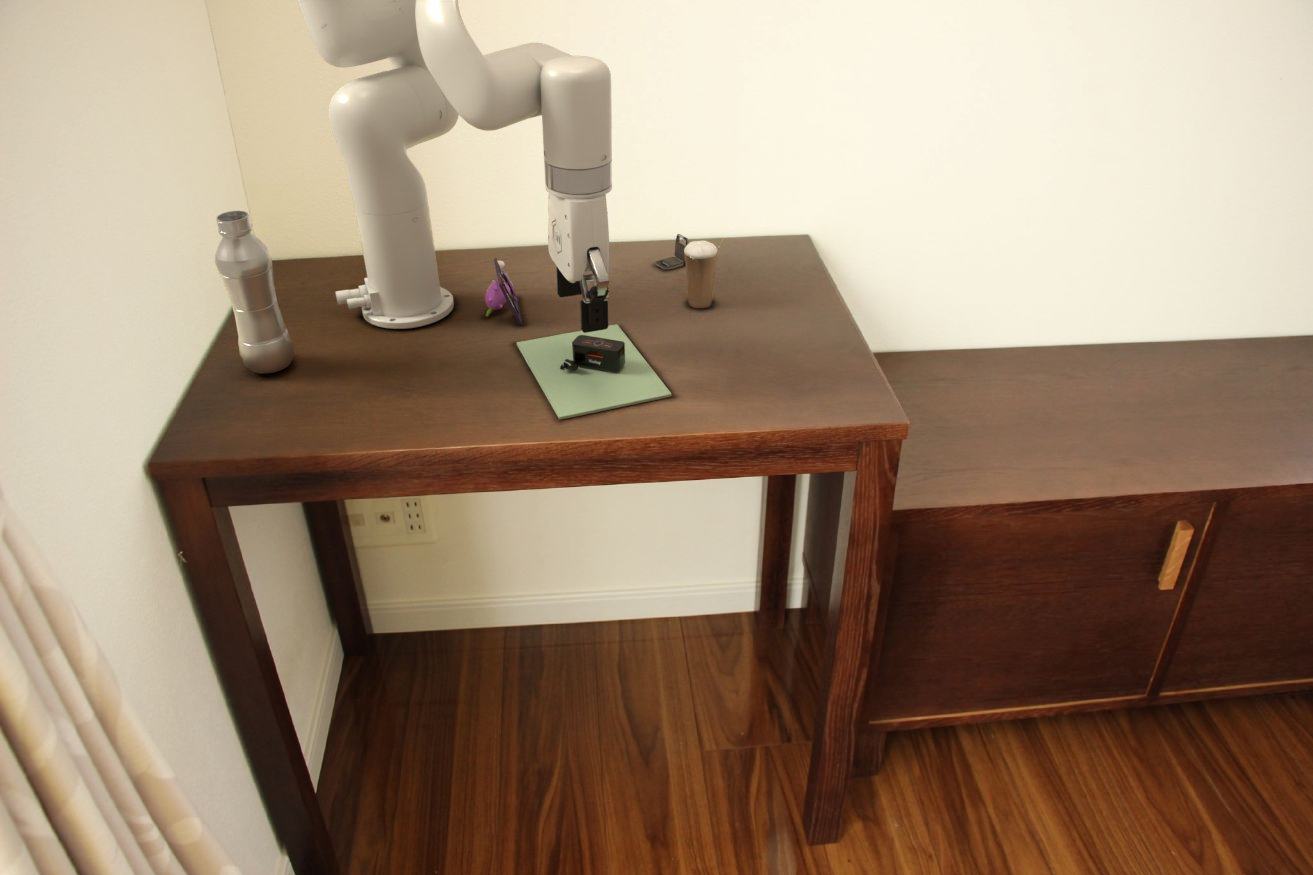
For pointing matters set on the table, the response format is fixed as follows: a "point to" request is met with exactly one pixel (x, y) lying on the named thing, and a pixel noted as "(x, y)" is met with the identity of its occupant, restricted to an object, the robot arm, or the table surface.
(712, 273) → the milkshake
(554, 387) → the desk mat
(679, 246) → the strap clip
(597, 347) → the wireless earbuds
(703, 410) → the table surface
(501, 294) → the purple creature toy frame
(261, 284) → the plastic bottle
